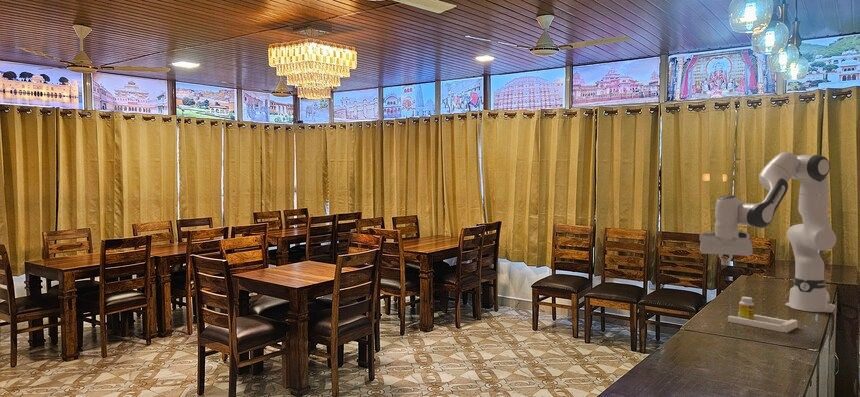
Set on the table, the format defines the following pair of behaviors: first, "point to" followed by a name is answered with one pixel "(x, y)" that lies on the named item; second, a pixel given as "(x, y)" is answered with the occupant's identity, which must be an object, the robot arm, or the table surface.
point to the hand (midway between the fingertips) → (725, 264)
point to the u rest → (766, 323)
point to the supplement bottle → (746, 308)
